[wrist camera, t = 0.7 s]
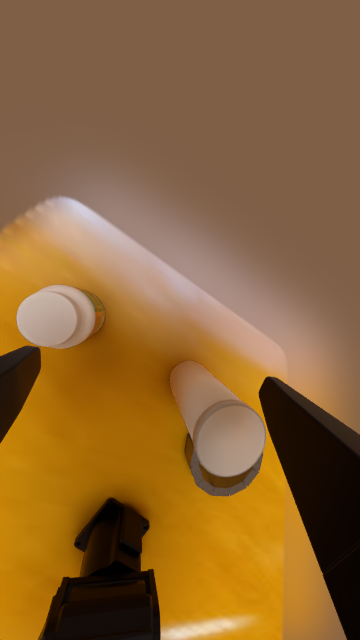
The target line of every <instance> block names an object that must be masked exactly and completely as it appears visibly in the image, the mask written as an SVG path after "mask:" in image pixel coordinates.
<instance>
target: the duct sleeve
mask: <svg viewBox="0 0 360 640" xmlns="http://www.w3.org/2000/svg"><path fill="white" fill-rule="evenodd" d="M169 385H170V388H171V391H172V393H173V395H174V398H175V400H176V403H177V405H178V407H179V410H180V412H181V415H182V417H183V419H184V422H185V424H186V427H187V429H188V431H189V434H190V436H191V439H192V441H193V446H194V449H195V452H196V454H197V457H198V459H199V461H200V463H201V465H202V466H203V467H204V468H205V469H206V470H207V471H208V472H210V473H212V474H214V475H217V476H221V477H231V476H236V475H239V474H241V473H243V472H245V471H247V470H248V469H249V468H251V467H252V466H253V465H254V464H255V463H256V462H257V460H258V459H259V457H260V456H261V454H262V452H263V449H264V446H265V441H266V430H265V426H264V423H263V421H262V419H261V417H260V416H259V415H258V414H257V413H256V412H255V411H254V410H253V409H252V408H251V407H250V406H249V405H247V404H246V403H244V402H242V401H241V400H240V399H239V398H238V397H237V396H236V395H234V394H233V393H232V392H231V391H230V390H229V389H228V388H227V387H226V386H224V385H223V384H222V383H221V382H220V381H219V380H218V379H217V378H216V377H214V376H213V375H212V374H211V373H210V372H209V371H208V370H207V369H206V368H204V367H203V366H202V365H201V364H200V363H198V362H196V361H184V362H181V363H179V364H178V365H177V366H175V367H174V369H173V370H172V372H171V374H170V377H169Z"/></svg>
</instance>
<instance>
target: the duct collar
mask: <svg viewBox="0 0 360 640" xmlns="http://www.w3.org/2000/svg"><path fill="white" fill-rule="evenodd" d="M185 454H186V457H187V460H188V463H189V466H190V469H191V472H192V475H193V477H194V480H195V483H196V484H197V486H198V487H199V488H201V489H202V490H204V491H205V492H206V493H208V494H209V495H212V496H229V494H230V496H231V495H233V494H235V493H237V492H239V491H241V490H243V489H245V488H246V486H249V484H250V483H251V482H252V480H253V479H254V478H255V476H256V475H257V474H258V473H259V471H258V470H260V466H261V462H262V457H263V452H262V454H261V456H260V457H259V459H258V460H257V462H256V463H255V464H254V465H253V466H252V467H251V468H249V469H248V470H247V471H245V472H243V473H241V474H239V475H236V476H231V477H221V476H217V475H214V474H212V473H210V472H208V471H207V470H206V469H205V468H204V467H203V466H201V465H200V464H199V459H198V457H197V454H196V452H195V449H194V446H193V441H192V439H191V436H190V434H188V436H187V441H186V446H185Z"/></svg>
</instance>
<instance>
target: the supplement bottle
mask: <svg viewBox="0 0 360 640" xmlns="http://www.w3.org/2000/svg"><path fill="white" fill-rule="evenodd" d="M104 319H105V310H104V307H103V304H102V303H101V301H100V300H99V299H98V298H97V297H96V296H95V295H94V294H92V293H90V292H88V291H85V290H81V289H78V288H75V287H71V286H67V285H51V286H48V287H45V288H43V289H41V290H39V291H38V292H36V293H34V294H32V295H30V296H29V297H27V298H26V299H25V300H24V301H23V302H22V303H21V305H20V307H19V309H18V312H17V326H18V328H19V331H20V332H21V334H22V335H23V336H24V337H25V338H26V339H27V340H28V341H30V342H31V343H33V344H36V345H39V346H44V347H51V348H56V349H64V348H70V347H73V346H76V345H78V344H80V343H81V342H83V341H85V340H86V339H87V338H89V337H90V336H92V335H94V334H95V333H96V332H97V331H98V330H99V329H100V328H101V326H102V325H103V322H104Z"/></svg>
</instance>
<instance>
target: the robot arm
mask: <svg viewBox="0 0 360 640" xmlns="http://www.w3.org/2000/svg"><path fill="white" fill-rule="evenodd" d="M40 369H41V352H40V348H39V347H35V346H24V347H22V348H19V349H17V350H14V351H12V352H9V353H7V354H5V355H2V356H0V443H1V442H2V440H3V438H4V437H5V435H6V434H7V432H8V430H9V429H10V427H11V426H12V424H13V423H14V421H15V419H16V418H17V416H18V414H19V413H20V411H21V409H22V407H23V405H24V403H25V401H26V399H27V397H28V395H29V393H30V391H31V389H32V387H33V385H34V383H35V380H36V378H37V376H38V374H39V372H40ZM259 399H260V402H261V406H262V410H263V413H264V417H265V421H266V424H267V428H268V431H269V434H270V436H271V439H272V442H273V444H274V447H275V450H276V452H277V455H278V458H279V460H280V463H281V466H282V468H283V471H284V474H285V476H286V479H287V482H288V484H289V487H290V489H291V492H292V495H293V497H294V500H295V503H296V505H297V508H298V510H299V513H300V516H301V518H302V521H303V524H304V526H305V529H306V532H307V534H308V537H309V540H310V542H311V545H312V548H313V550H314V553H315V556H316V558H317V561H318V564H319V566H320V569H321V571H322V573H323V577H324V580H325V583H326V585H327V588H328V591H329V593H330V596H331V599H332V601H333V603H334V606H335V609H336V612H337V614H338V617H339V620H340V622H341V625H342V628H343V630H344V633H345V635H346V638H347V640H360V435H359V434H358V433H357V432H355V431H354V430H352V429H351V428H349V427H348V426H346V425H345V424H343V423H342V422H340V421H339V420H338V419H336V418H335V417H333V416H332V415H330V414H329V413H327V412H326V411H325V410H323V409H322V408H320V407H319V406H317V405H316V404H314V403H313V402H311V401H310V400H308V399H307V398H306V397H304V396H303V395H301V394H300V393H298V392H297V391H295V390H294V389H292V388H291V387H290V386H288V385H287V384H285V383H284V382H282V381H281V380H279V379H278V378H276V377H266V378H265V380H264V382H263V384H262V386H261V388H260V390H259ZM110 503H112V504H110ZM145 525H147V526H145ZM149 527H150V524H149V521H147V520H146V519H144V518H143V517H141V516H140V515H138V514H137V513H135V512H134V511H132V510H131V509H129V508H127V507H125V506H124V505H122V504H121V503H119V502H117V501H116V500H114V499H108V500H107V502H106V503H105V504H104V505H103V506H102V508H101V509H100V510H99V511H98V512H97V514H96V515H95V516H94V517H93V519H92V520H91V521H90V522H89V523H88V525H87V526H86V527H85V528H84V529H83V531H82V532H81V533H80V534H79V536H78V537H77V538H76V540H75V543H74V545H75V547H76V548H78V549H80V550H82V551H83V552H85V553H84V557H83V562H82V567H81V572H80V576H79V577H75V578H69V577H63V580H62V583H61V586H60V587H58V590H57V593H56V595H55V596H54V597H53V599H52V603H51V606H50V610H49V613H48V616H47V619H46V622H45V625H44V627H43V629H42V631H41V634H40V636H39V638H38V640H160V611H159V602H158V596H157V590H156V583H155V577H154V570H153V569H148V571H141V553H142V537H143V536H144V534H145V533H146V532H147V531H148V529H149Z"/></svg>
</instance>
